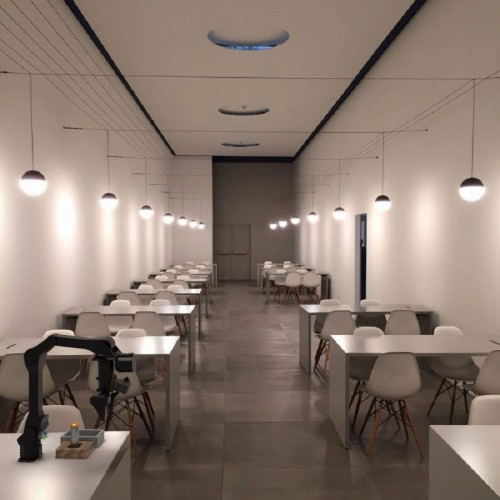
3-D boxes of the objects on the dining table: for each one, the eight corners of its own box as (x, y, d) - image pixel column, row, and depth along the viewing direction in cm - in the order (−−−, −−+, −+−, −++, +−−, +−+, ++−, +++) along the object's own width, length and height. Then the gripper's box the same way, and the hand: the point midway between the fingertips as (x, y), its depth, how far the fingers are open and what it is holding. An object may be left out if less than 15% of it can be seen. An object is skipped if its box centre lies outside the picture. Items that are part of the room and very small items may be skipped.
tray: (60, 447, 194) (60, 436, 194) (68, 439, 202) (68, 429, 202) (97, 447, 193) (97, 437, 193) (104, 439, 201) (104, 429, 201)
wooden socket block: (55, 458, 184) (55, 449, 184) (64, 449, 192) (64, 441, 192) (86, 458, 184) (85, 450, 184) (93, 449, 192) (93, 441, 192)
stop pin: (68, 455, 186) (68, 425, 186) (72, 451, 190) (71, 422, 189) (77, 455, 186) (77, 425, 186) (80, 452, 189) (80, 422, 189)
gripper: (121, 379, 174) (122, 425, 174) (135, 366, 192) (136, 407, 193) (88, 379, 174) (89, 426, 174) (105, 366, 193) (106, 408, 193)
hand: (107, 416), depth 184 cm, fingers open, 9 cm apart
